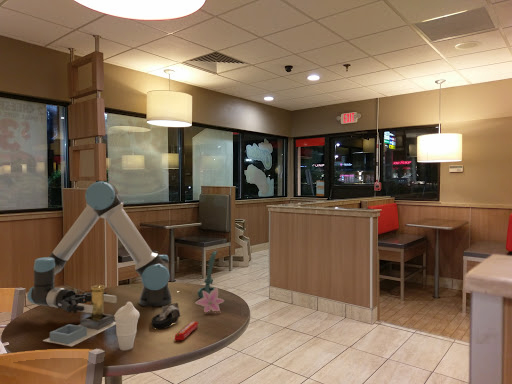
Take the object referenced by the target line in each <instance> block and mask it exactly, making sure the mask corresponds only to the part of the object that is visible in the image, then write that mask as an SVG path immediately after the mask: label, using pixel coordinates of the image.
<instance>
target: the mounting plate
mask: <svg viewBox="0 0 512 384" xmlns="http://www.w3.org/2000/svg"><path fill="white" fill-rule="evenodd" d="M77 326H81V323H80V324H77ZM114 326H116V321H113V323H111V324H109V325H107V326H105V327H103V328H101V329H99V330H96V329H90V328H87V336H85V337H82V338H80V339H78V340H76V341H74V342H72V343H70V344H64V343H58V342H53V341H50V337H48V338H45V339H43V340H42V341H43V342H46V343H50V344H52V343H53V344H57V345H61V346H62V345H63V346H68V347H73V346H76V345H78V344H79V343H82V342H84V341H85V340H87V339H89V338H92V337H94V336H96V335H98V334H99V333H102V332H104V331H105V330H107V329H110V328H112V327H114Z"/></svg>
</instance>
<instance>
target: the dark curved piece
mask: <svg viewBox="0 0 512 384" xmlns="http://www.w3.org/2000/svg"><path fill="white" fill-rule="evenodd" d="M217 254H218V250H215V251H212V253H211V254H210V257H209V258H208V259H209V260H208V263H207V265H208V268H207V269H206V274H207V275H206V278H205V279H204V280H203V281H204V283H205V285H204V287H200V288H199V289H198V290H197V297H198V298H199V297H200V298H204V297H203V292H202V291H206V292H207V293H209V294H210V293H211V292H212V291H213V290H214V289H215V288H216V287H212V286H210V285H213V283H214V278H212V271H213V267H214V263H215V260H216V256H217Z"/></svg>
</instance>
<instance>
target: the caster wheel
mask: <svg viewBox="0 0 512 384" xmlns="http://www.w3.org/2000/svg"><path fill="white" fill-rule="evenodd" d="M179 307H180V306H179V303H178V302H175V303H169V304H167V305H164V306H161V310H162V311H161V312H159V313H158V314H156V315H155V316H153V317H152V319H151V325H152V328H153V329H155V328H156V329H155V330H163V329H166V328H168V327H171V326H170V325H171V324H172V323H176V324H177V323H178V320H179V318H180V317H181V313H180V308H179Z"/></svg>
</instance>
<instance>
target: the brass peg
mask: <svg viewBox="0 0 512 384" xmlns="http://www.w3.org/2000/svg"><path fill="white" fill-rule="evenodd" d="M105 289H106V286H105V285H103V284H95V285H93V286H90V291H91V293H92V301H90V302H91V304H90V305H93V313H90V315H91V320H97V321H98V320H100V319H103V314H104V303H105V302H104V292H105Z"/></svg>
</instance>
